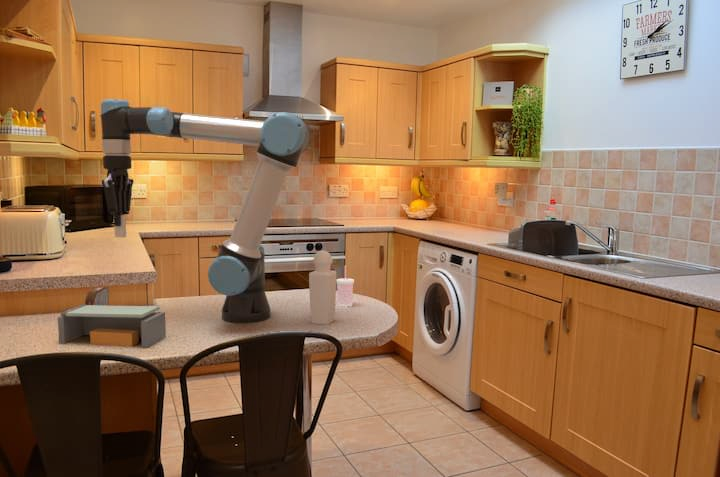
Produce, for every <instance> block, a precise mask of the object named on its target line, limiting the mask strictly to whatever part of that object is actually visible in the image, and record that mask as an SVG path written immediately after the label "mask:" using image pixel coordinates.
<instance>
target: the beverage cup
mask: <svg viewBox="0 0 720 477" xmlns="http://www.w3.org/2000/svg"><path fill="white" fill-rule="evenodd" d="M354 283H355V279H354V278H347V265H346V264H345V265H344V278H343V277H342V278H341V277H340V278H336V290H337V304H338V305H339V306H345V307H344V308H348V307H347V306H351V305H352V306H353V296H354V295H353V292H354V291H353V290H354ZM338 305H337V306H338ZM339 306H338V307H339ZM352 306H351V307H352Z"/></svg>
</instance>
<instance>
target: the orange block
mask: <svg viewBox="0 0 720 477" xmlns="http://www.w3.org/2000/svg"><path fill="white" fill-rule="evenodd" d="M89 336H90V337H89V339H90V344H91V345H107V346H122V347H123V346H124V347H134V346H136V345H137V344H139V342H140V341H139V340H140V339H139V338H140V337H138V330H120V329H103V328H97V329H94V330H92V331H90V335H89Z"/></svg>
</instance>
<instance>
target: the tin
mask: <svg viewBox="0 0 720 477" xmlns="http://www.w3.org/2000/svg"><path fill="white" fill-rule="evenodd" d="M109 294H110V292H109V288H108V287H107V286H103V285H101V286H100V285H97V286H95V287H94V288H92V289H89V290H88V292H87V294H86V295H85V296H86V297H85V302H84V304H86V305H105V306H109V302H110V300H109Z"/></svg>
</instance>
